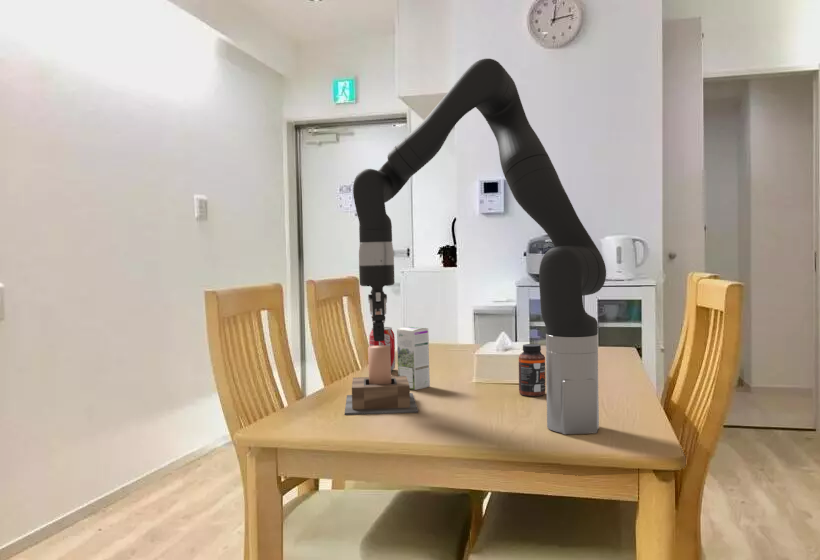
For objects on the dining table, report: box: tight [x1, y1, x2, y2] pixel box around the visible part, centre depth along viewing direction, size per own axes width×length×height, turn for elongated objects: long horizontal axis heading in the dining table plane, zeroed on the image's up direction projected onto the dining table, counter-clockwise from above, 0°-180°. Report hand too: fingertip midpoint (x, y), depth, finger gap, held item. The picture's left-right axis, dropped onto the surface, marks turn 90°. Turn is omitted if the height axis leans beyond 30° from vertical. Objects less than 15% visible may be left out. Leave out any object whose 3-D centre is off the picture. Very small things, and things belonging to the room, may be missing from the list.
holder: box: [344, 375, 419, 416], centre depth 151 cm, size 18×15×5 cm
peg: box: [367, 345, 392, 385], centre depth 151 cm, size 5×5×12 cm
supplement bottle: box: [518, 343, 547, 397], centre depth 158 cm, size 6×6×11 cm
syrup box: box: [396, 326, 431, 390], centre depth 169 cm, size 6×6×14 cm
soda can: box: [368, 326, 396, 372], centre depth 194 cm, size 7×7×12 cm
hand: (378, 338), depth 150 cm, fingers open, 8 cm apart
